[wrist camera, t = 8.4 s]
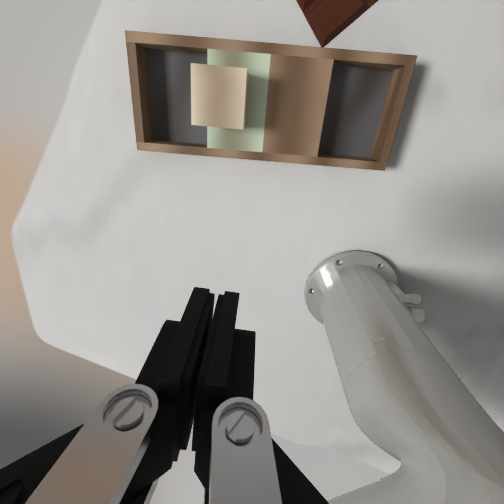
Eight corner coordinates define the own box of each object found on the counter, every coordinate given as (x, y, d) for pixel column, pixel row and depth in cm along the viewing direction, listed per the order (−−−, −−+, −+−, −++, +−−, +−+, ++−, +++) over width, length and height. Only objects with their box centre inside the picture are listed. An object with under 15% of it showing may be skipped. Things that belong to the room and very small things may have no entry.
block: (248, 74, 26) (247, 68, 22) (245, 127, 28) (243, 129, 24) (200, 69, 26) (190, 62, 22) (200, 123, 28) (191, 124, 24)
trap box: (402, 61, 27) (417, 55, 25) (374, 165, 32) (384, 170, 29) (138, 38, 27) (124, 30, 25) (147, 146, 32) (137, 150, 29)
